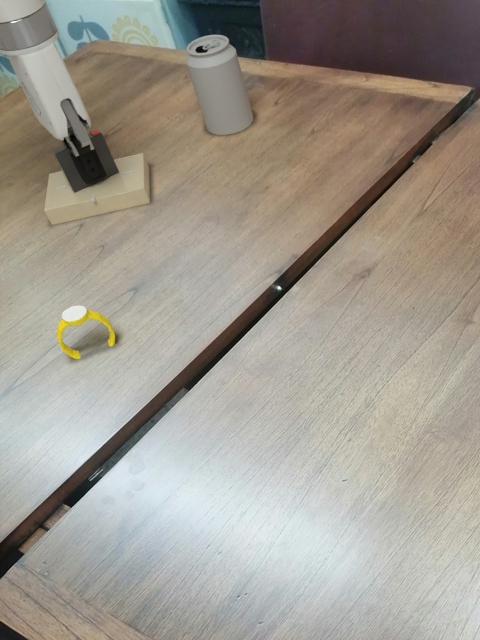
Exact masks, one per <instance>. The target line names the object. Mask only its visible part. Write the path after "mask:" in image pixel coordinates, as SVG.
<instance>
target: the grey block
mask: <svg viewBox="0 0 480 640" xmlns="http://www.w3.org/2000/svg"><path fill="white" fill-rule="evenodd" d="M88 135H89V138H90V140H91V142H92V144H93V147H94V148H95V150H96V152H97V154H98V157H99V159H100V161H101V163H102V165H103V167H104V170H105V172H106V177H104V178H102V179H99V180H97V181H95V182H93V183H91V184H86V183H85V182H84V180H83V178H82V176H81V174H80V172H79V170H78V168H77V166H76V164H75V162H74V160H73V158H72V155H74V154H73V153H72V151H71V149H70V147H69V145H68V143H66V144H63V143H62V144H61V145H59V146H56V147H54V148H52V149H51V154H52V156H53V157H54V159H55V161H56V163H57V165H58V167H59V169H60V171H62V173H63V175H64V177H65V179H66V181H67V183H68V185H69V187H70V189H71V190H72V191H73V192H77V191H79V190H81V189H83V188H86V187H88V186H90V185H92V184H94V183H96V182H99V181H101V180H103V179H105V178H107V177H110V176H112V175H114V174H116V173H118V172H119V171H118V168H117V166H116V164H115V162H114V159H115V158H114V157H113V155H112V153H111V150H110V148H109V146H108V144H107V141H106V139H105V137H104V135H103V133H102V132H101V131H100V130H99V129H97V128H95V129H92V130H89V133H88ZM73 142H74V141H73Z"/></svg>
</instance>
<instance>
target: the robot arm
mask: <svg viewBox="0 0 480 640" xmlns="http://www.w3.org/2000/svg"><path fill="white" fill-rule="evenodd" d="M51 13H52V12H50V9H49V6H48V5H47V2H46V0H0V55H3V56H7V58H8V61H9V63H10V65H11V67H12V69H13V72H14V74H15V76H16V78H17V80H18V82H19V85H20V88H21V89H22V92H23V93H24V95H25V97H26V99H27V102H28V104H29V106H30V108H31V110H32V112H33V114H34V116H35V118H36V120H37V121H38V123H40V125H42V127H43V128H44V129H46V131H47V132H49V134H51V136H53V137H54V139H56V140H58V141H61V143H62V145H63V144H66V143H68V145H69V147H70V149H71V151H72V153H73V154H74V155H72V158H73V160H74V162H75V164H76V166H77V168H78V170H79V172H80V174H81V176H82V178H83V180H84V182H85V183H86V184H91V183H93V182H95V181H97V180H99V179H102V178H104V177H106V172H105V170H104V167H103V165H102V163H101V161H100V159H99V157H98V154H97V152H96V150H95V148H94V147H93V144H92V142H91V140H90V138H89V135H88V134H89V133H88V131H87V129H88V130H90V129H91V127H92V121H91V118H90V115H89V113H88V111H87V108H86V106H85V103H84V102H83V99H82V97H81V95H80V93H79V90H78V88H77V86H76V84H75V81H74V79H73V77H72V76H71V73H70V71H69V69H68V66H67V65H66V63H65V60H64V59H63V56H62V55H61V53H60V50H59V49H58V46H57V45H56V43H55V42H56V41H57V40H58V38H59V37H60V31H59V29H58V27H57V25H56V22H55V20H54V18H53V16H52V14H51ZM73 141H74V142H73Z"/></svg>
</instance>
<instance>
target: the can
mask: <svg viewBox="0 0 480 640" xmlns="http://www.w3.org/2000/svg"><path fill="white" fill-rule="evenodd" d="M186 53H187V55H186V58H185V64H186V69H187V71H188V74H189V77H190V80H191V83H192V87H193V89H194V90H193V91H194V92H195V96H196V99H197V102H198V105H199V108H200V111H201V115H202V118H203V121H204V124H205V125H204V126H205V128H206V131H208V133H210V134H213V135H216V136H229V135H233V134H237V133H239V132H242V131H244V130H246V129H247V128H249V127H250V126H251V124H253V122H254V113H253V111H252V106H251V103H250V99H249V95H248V92H247V87H246V83H245V80H244V76H243V72H242V68H241V64H240V61H239V57H238V53H237V48H235V47H234V46H233V45H232V44H230V39H229V38H228V36H225V35H223V34H209V35H203V36H200V37H197V38H196V39H194V40H192V41H191V42H189V43H188V44H187V46H186Z"/></svg>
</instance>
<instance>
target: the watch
mask: <svg viewBox="0 0 480 640" xmlns="http://www.w3.org/2000/svg"><path fill="white" fill-rule="evenodd" d="M61 318H62V319H60V321H58V323H57V328H56V332H55V334H56V339H57V341H58V344H59V347H60V349H61V350H62V352H63V353H65V354H66V355H67V356H68V357H70V358H71V359H74V360H79V359H81V354H80V351H79V350H75V349H72V348H71V347H70V346H69V345H67V344H66V343H65V342H64V340H63V336H64V335H63V334H64V331H65V330H66V328H67V327H76V326H80V325H83V324H84V323H86V322H87V320H93V321H97V322H99V323H101V324H102V325H103V326H105V327H107V329H108V331H109V333H108V339H107V342H108V346H109V347H114V346H115V344H116V333H115V330H114V326H113V325H112V323H111V321H110V320H109V319H108V317H106V316H105V315H103V314H102V313H100V312H98V311H95V310H90V309H88V308H87V307H86V306H84V305H73V306H70V307H68V308H66V309H65V310H64V311H63V312H62V314H61Z"/></svg>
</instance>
